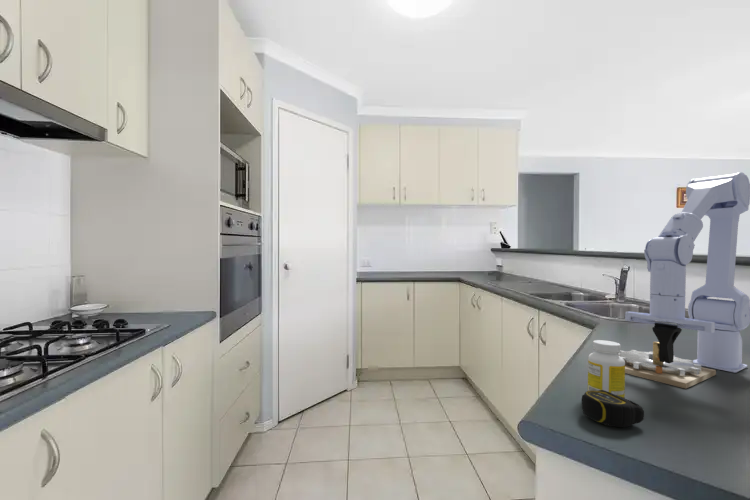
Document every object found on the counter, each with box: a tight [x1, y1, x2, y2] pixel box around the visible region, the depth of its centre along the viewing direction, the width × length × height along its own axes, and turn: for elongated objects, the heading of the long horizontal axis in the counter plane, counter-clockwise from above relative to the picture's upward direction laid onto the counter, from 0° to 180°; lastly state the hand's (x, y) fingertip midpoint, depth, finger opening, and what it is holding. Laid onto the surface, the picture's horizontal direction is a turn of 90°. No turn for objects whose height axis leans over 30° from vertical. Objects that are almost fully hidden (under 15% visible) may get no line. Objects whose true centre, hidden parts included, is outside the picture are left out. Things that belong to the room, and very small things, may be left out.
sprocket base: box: [625, 364, 717, 390], centre depth 82 cm, size 17×16×1 cm
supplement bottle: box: [587, 339, 626, 399], centre depth 64 cm, size 5×5×10 cm
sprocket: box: [619, 341, 702, 376], centre depth 82 cm, size 15×15×6 cm
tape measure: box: [581, 390, 645, 428], centre depth 56 cm, size 7×7×4 cm
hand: (665, 361), depth 76 cm, fingers closed, pressing on sprocket
